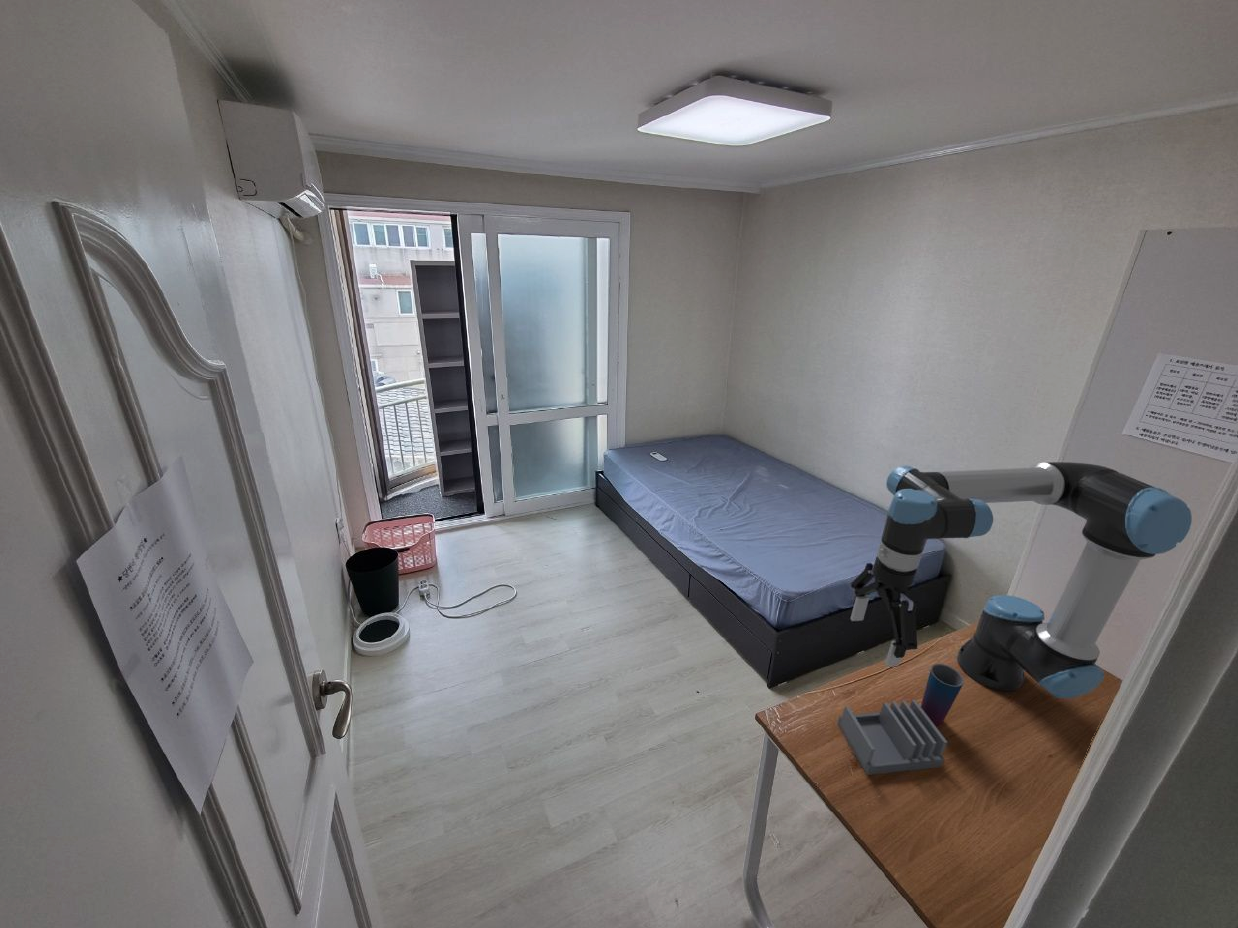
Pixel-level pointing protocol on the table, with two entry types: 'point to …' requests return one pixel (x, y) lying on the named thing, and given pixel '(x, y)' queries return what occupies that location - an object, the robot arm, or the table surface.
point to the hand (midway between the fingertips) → (873, 641)
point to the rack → (893, 738)
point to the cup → (941, 692)
